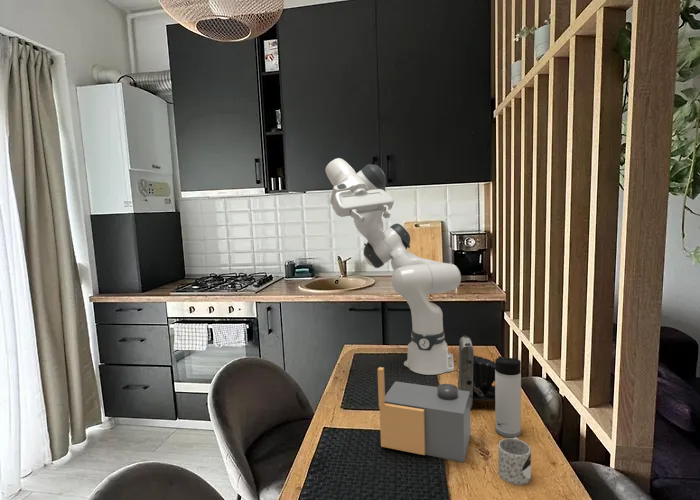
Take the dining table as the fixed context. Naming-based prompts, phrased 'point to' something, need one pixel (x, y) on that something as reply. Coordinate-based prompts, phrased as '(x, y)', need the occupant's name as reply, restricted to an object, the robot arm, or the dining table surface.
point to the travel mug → (508, 397)
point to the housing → (438, 416)
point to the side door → (400, 423)
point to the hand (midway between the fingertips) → (375, 218)
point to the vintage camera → (475, 373)
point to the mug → (514, 461)
